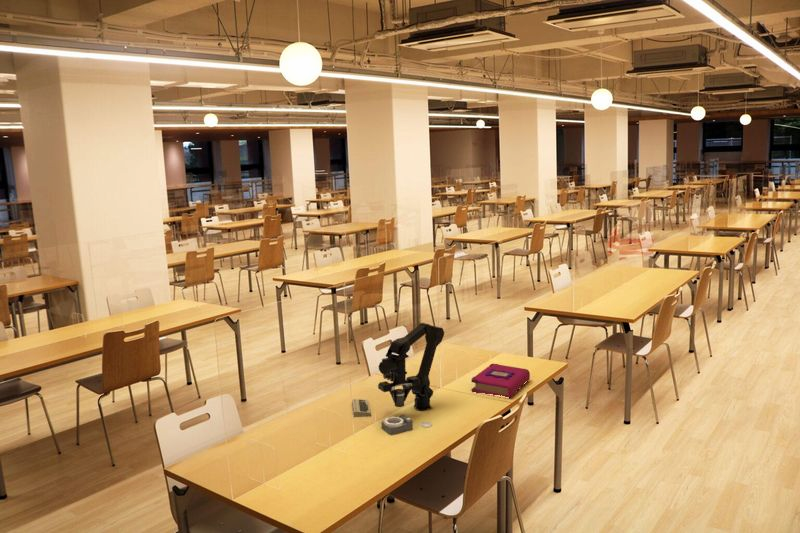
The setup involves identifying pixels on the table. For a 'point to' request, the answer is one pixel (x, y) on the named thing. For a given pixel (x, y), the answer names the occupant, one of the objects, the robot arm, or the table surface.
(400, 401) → the lens
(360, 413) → the computer
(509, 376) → the book
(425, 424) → the pale white disc
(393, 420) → the camera body
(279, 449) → the table surface
